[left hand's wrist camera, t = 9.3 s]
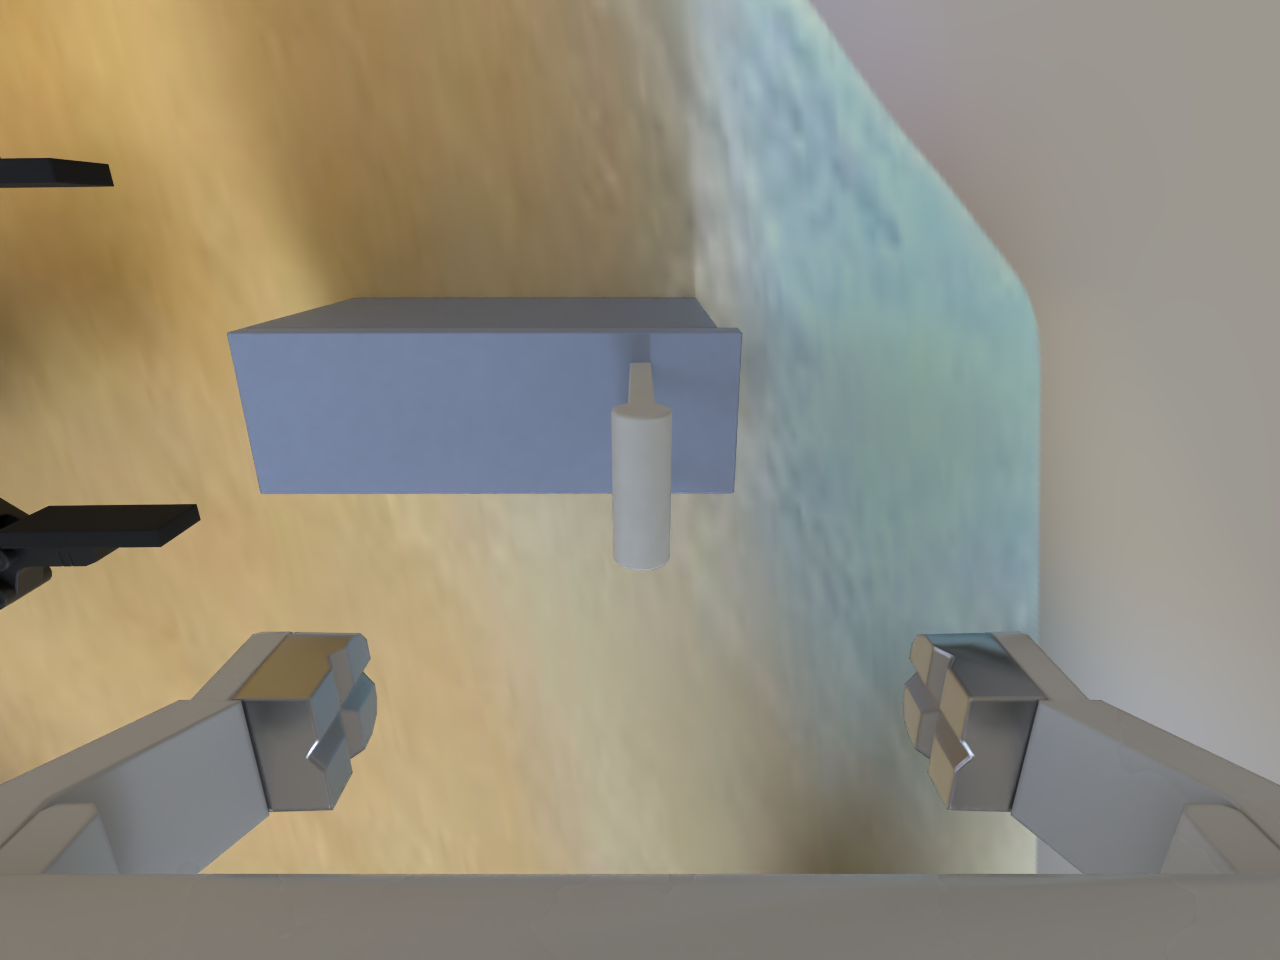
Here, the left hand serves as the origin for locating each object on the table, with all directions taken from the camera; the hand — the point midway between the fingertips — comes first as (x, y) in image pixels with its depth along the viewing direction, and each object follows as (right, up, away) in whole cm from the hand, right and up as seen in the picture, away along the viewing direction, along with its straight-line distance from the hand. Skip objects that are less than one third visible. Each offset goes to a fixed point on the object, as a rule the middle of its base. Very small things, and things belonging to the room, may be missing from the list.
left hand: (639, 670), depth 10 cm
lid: (-5, +5, +14) cm, 16 cm away
